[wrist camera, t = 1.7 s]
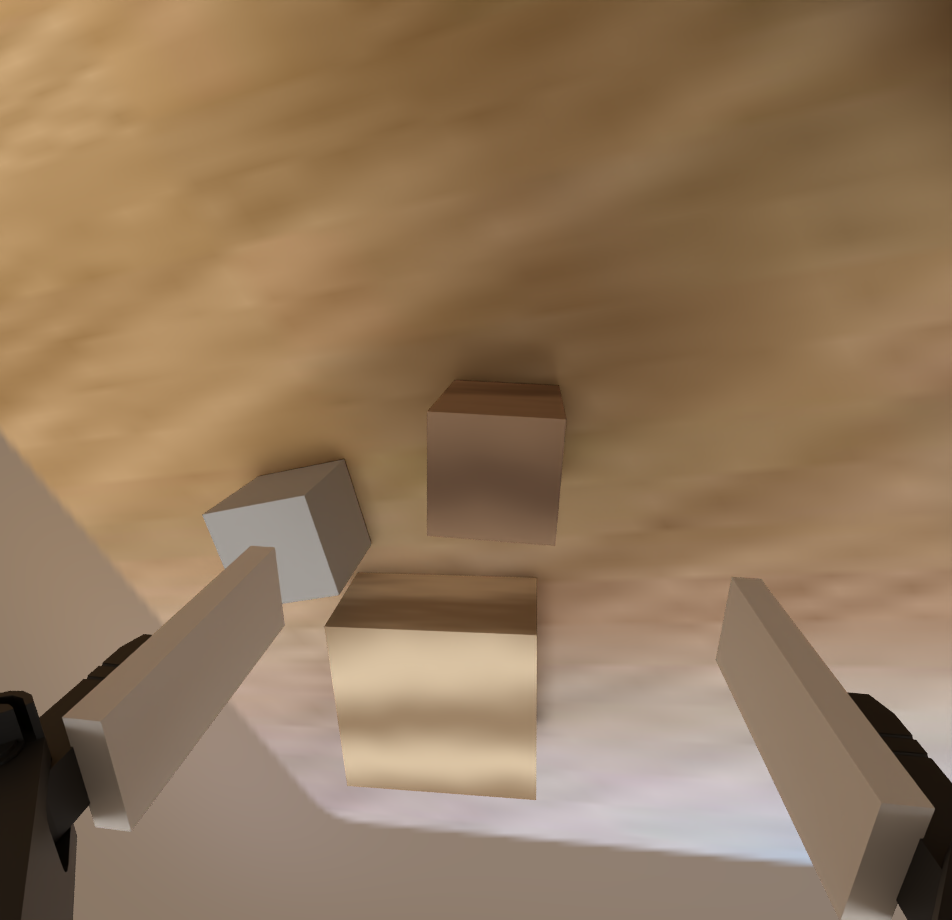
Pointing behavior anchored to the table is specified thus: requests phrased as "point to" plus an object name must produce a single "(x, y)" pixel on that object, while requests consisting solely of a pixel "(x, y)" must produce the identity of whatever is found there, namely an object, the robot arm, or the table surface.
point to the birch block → (437, 683)
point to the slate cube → (296, 527)
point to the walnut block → (495, 462)
